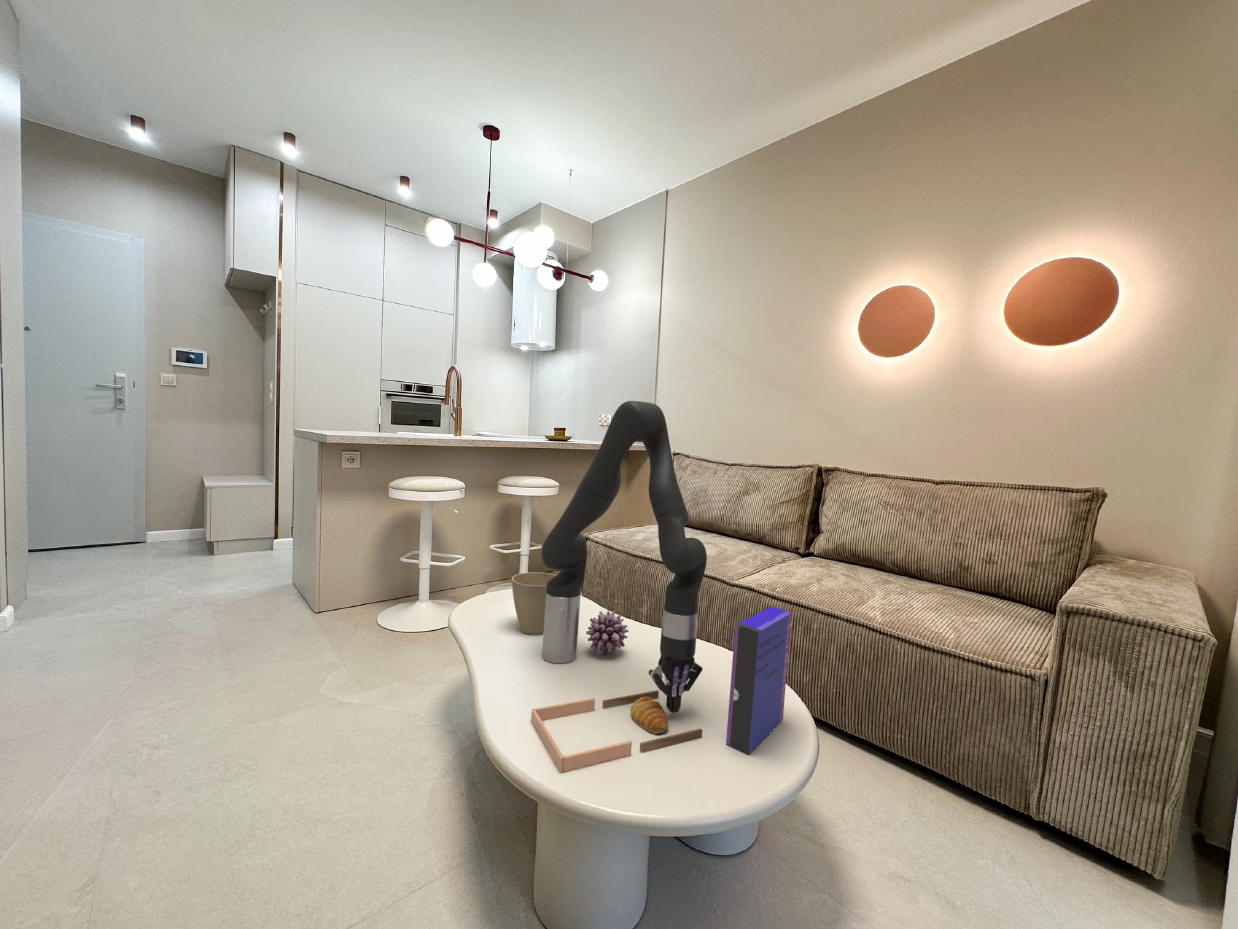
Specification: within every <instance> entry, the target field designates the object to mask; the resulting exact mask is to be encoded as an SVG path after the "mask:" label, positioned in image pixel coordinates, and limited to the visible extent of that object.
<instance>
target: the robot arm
mask: <svg viewBox="0 0 1238 929" xmlns="http://www.w3.org/2000/svg"><path fill="white" fill-rule="evenodd" d="M635 443H643V446H644V448H645V450H646V453H647V456H648V458H649V479H648V497H649V502H650V505H651V507H652V508H651V509H652V512H653V515H654V517H655V520H656V523H657V530H658V532H657V535H658V546H659V554H660V558H661V560H662V562H663V565H664V566H665V569H667V570H668V571H669V572H671V573H673V575H674V577H673V579H672V580H671V581H670V582H669V583H667V585H666V588H665V593H664V594H665V596H664V606H663V614H662V619H661V630H660V644H659V651H660V652H659V653H660V657H659V660H658V663H657V664H658V665H657V666H656V667H655V668H654V669H649V670H648V675H649V677H650V678H651V679H652V681H653V682H654V684H655V685H656V687H657V688H658V691H659V692H660V691H661V693H663V694H664V695H665V696H666V702H665V706H666V708H667V710H668V711H669V712H670V713H671V714H676V713H679V712H680V709H681V707H682V706H681V705H682V696H683V694H684V693H685V692H690V690H691V688H692V687H693V685H694V684H695V682H696V681H697V679H698V678H699V676H700V674H701V673H702V672H703V667H702V666H701V665H700V664H698V663H697V662H695V657H694V656H695V654H696V645H697V644H696V643H697V635H698V634H697V633H698V605H699V604H698V603H699V591H700V588H701V585H702V582H703V578H704V576H705V571H706V568H707V567H706V566H707V562H708V556H707V555H708V554H707V550H706V547H705V545H704V543H703V542H702V541H701V540H700V539H699V538H696V537H687V536H686V532H685V526H686V525H688V523H689V520H690V517H689V512H688V510H687V508H686V503H685V500H684V497H683V495H682V492H681V489H680V485H679V482H678V479H677V478H678V477H677V475H676V471H675V466H674V460H673V455H672V449H671V443H670V438H669V430H668V426H667V421H666V417H665V415H664V412H663V410H662V408H661V407H660V406H659V405H657V404H656V403H653V402H648V401H638V400H637V401H636V400H627V401H625V402H623V403H621V404H620V405H619V406H618V407H617V409H616V410H615V412H614V414H613V416H612V418H611V420H610V423H609V424H608V427H607V430H606V432H605V434H604V437H603V439H602V442H601V443H600V446H599V448H598V450H597V452H596V454H595V456H594V458H593V460H592V462H591V464H590V466H589V467H588V469H587V471H586V472H585V474H584V475H583V477H582V480H580V483H579V485H578V487H577V489H576V491H575V493H574V494H573V497H572V498H571V500H570V502H569V503H568V505H567V507H566V508H565V510H564V512H563V513H562V515H561V516H560V518H559V520H558V521H557V522H556V524H555V525H554V527H552V529H551V531H550V532H549V534H548V535H547V537H546V538H545V539H544V541H543V545H542V549H541V559H542V563H543V564H544V565H545V567H547V568H548V569H552V570H560V571H559V572H558V573H557V574H555V575H556V576H555V577H553V578H552V579H550V580H549V581H548V583H547V587H546V602H545V618H544V633H542V634H543V635H542V648H541V650H542V651H541V657H542V660H544V661H547V662H549V663H553V664H568V663H571V662H573V661H575V660H576V659H577V651H578V639H579V638H578V637H579V624H580V623H579V622H580V612H581V609H580V608H581V596H582V592H581V591H582V587H583V585H584V582H585V578H586V569H587V561H588V545H587V541H586V539H585V537H584V535H583V534H581V533H582V532H583V531H584V530H586V529H587V528H588V527H589V526H591V525H592V524H594V523H595V522H596V521H598V519H600V518H601V517H602V516H604V515H605V513H606V512H607V511H608V509H609V508H611V505H612V504H613V502H614V500H615V499H616V497H617V495H618V493H619V491H620V488H621V483H622V482H621V481H622V480H621V479H622V473H621V472H622V470H621V468H622V463H623V461H624V459H625V457H626V455H627V453H628V452H629V450H630V449H631V447H632V446H633V445H634V444H635ZM663 676H664V677H663ZM663 678H664V680H663Z"/></svg>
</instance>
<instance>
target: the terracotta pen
mask: <svg viewBox="0 0 1238 929" xmlns="http://www.w3.org/2000/svg"><path fill="white" fill-rule="evenodd" d="M595 703H596V699H595V697H593V698H587V699H581V700H575V701H570V702H565V703H558V704H555V705H554V704H553V705H548V706H544V707H543V706H542V707H537V708H532V709H531V712H530V713H531V715H530V721H531V723H532V725H533V727H534V728H535V729H534V730H536V733H537V734H538V736H539V738H540V740H541V741H542V743H543V744H544V747H545V748H546V750H547V752H548V754H549V755H550V757H551V759H552V761H553V762H554V765H555V766H556V768H557V769H558V771H559V773H560V774H562V773H565V772H569V771H572V770H573V771H574V770H577V769H581V768H584V767H589V766H593V765H596V764H601V763H605V762H609V761H612V760H613V761H614V760H617V759H620V758H625V757H630V756H631V755H632V748H633V747H632V746H633V745H632V744H633V743H632V741H631V740H627V741H623V742H618V743H615V744H610V745H606V746H601V747H597V748H592V749H589V750H585V751H580V752H576V753H571V754H568V755H567V754H566V755H563V754H562V752H561V750H560V749H559V746H558V745H557V743H556V742H555V740H554V739H553V737H552V734H550V732H549V730H548V729H547V727H546V726H545V723H544V722H543V721H546V720H551V719H556V718H561V717H567V716H572V715H578V714H583V713H587V712H594V711H595V706H596V704H595Z"/></svg>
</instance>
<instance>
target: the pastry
mask: <svg viewBox="0 0 1238 929" xmlns="http://www.w3.org/2000/svg"><path fill="white" fill-rule="evenodd" d="M630 712H631V717H632V719H633V721H634V722H635V723H636V724H637V725H638V726H639V727H640V728H642V729H643V730H644V731H646V732H647V733H651V734H653V735H658V734H664V733H665V732H666V731H667V729H668V728H669V722H668V717H667V713H666V711H665V709H664V708H663V706H662V705H661V703H660V702H659V701H658V700H654V699H652V698H650V697H641V698H640V699H638V700H636V701H635V702H634V703H632V705H631V706H630Z"/></svg>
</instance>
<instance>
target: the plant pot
mask: <svg viewBox="0 0 1238 929" xmlns="http://www.w3.org/2000/svg"><path fill="white" fill-rule="evenodd" d="M556 575H557V574H553V573H548V572H540V571H539V572H537V571H536V572H535V571H532V572H529V571H528V572H522V573H518V574H515V575H513V576H511V588H512V589H511V590H512V597H513V602H514V603H513V604H514V608H515V613H516V617H517V621H518V624H519V627H520V630H521V632H522V633H523V632H524V634H527V635H531V634H536V635H541V634H543V633H544V618H545V602H546V587H547V583H548V581H549V580H550V579H552V578H553V577H555V576H556Z"/></svg>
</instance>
